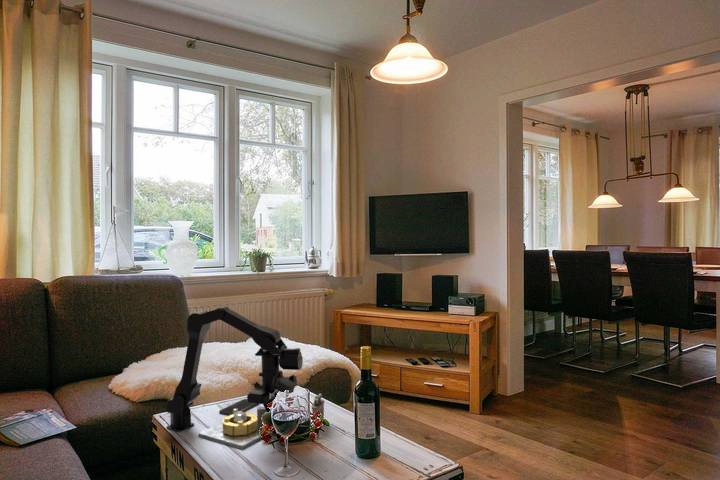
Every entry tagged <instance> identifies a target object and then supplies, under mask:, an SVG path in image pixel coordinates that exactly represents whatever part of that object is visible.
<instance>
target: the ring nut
mask: <svg viewBox="0 0 720 480" xmlns="http://www.w3.org/2000/svg"><path fill="white" fill-rule="evenodd" d="M240 412H242V411H240ZM265 412H267V411H266V409H265V407H264V406H258V407H257V408H256V414H254V413H250V412H245V413H246V423H243V421H238V424H235V423H234V415H230V416H229V415H226V417H224V418H222V422H223V432H224V433H225V434H228V435H232V436H233V435H234V436H237V435H246V434H249V433H251V432H253V431H255V430H257V429H258V428H260V427H262V426H263V424H262V420H261V417H262V415H263V414H264V413H265Z"/></svg>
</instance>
